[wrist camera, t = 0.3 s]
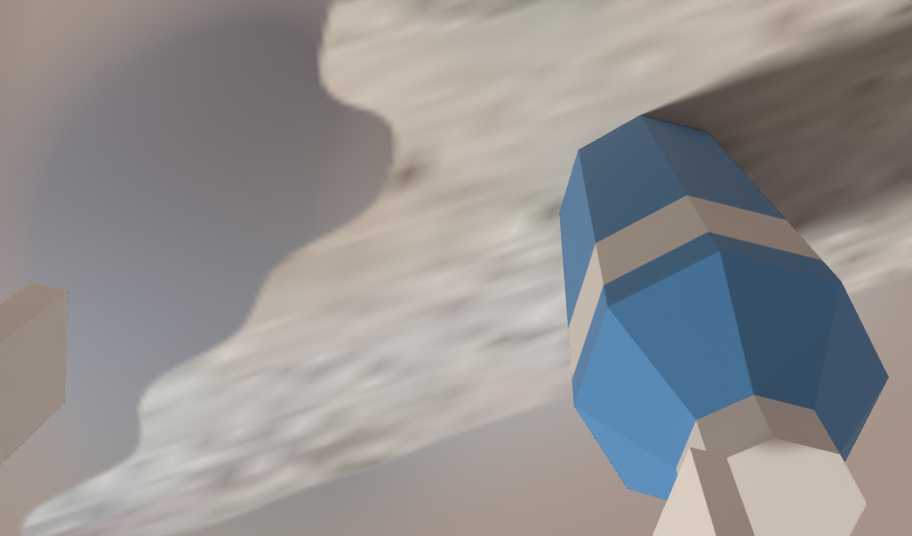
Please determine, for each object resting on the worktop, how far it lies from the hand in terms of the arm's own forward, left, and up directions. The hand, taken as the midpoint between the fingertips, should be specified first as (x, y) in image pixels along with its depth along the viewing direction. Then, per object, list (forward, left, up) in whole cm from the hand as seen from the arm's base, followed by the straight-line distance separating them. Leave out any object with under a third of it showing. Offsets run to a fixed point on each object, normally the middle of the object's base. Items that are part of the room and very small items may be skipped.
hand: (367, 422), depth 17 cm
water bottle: (+2, +10, -28) cm, 29 cm away
